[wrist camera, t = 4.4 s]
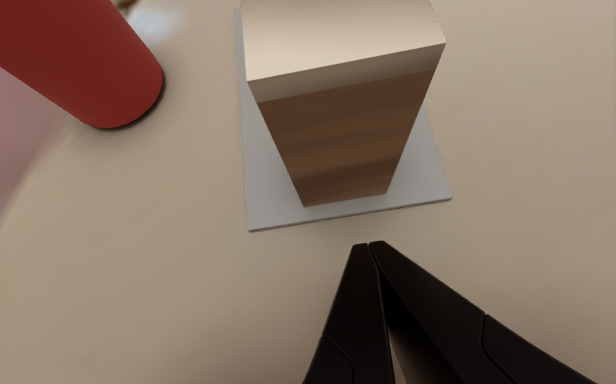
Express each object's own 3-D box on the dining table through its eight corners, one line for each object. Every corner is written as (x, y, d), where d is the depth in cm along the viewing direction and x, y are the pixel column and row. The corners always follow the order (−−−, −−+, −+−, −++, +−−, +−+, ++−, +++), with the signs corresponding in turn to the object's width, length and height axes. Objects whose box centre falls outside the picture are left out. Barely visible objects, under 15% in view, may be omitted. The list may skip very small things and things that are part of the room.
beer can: (104, 52, 23) (-132, -190, 11) (180, 60, 21) (0, -202, 10) (63, 125, 21) (-272, -80, 9) (145, 139, 19) (-129, -79, 8)
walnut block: (386, 193, 16) (446, 42, 6) (303, 207, 16) (246, 81, 7) (369, 122, 17) (397, -82, 8) (294, 136, 18) (237, -46, 8)
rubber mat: (450, 199, 16) (452, 197, 15) (249, 231, 16) (247, 230, 16) (380, -17, 22) (381, -23, 21) (235, 13, 22) (233, 8, 22)
